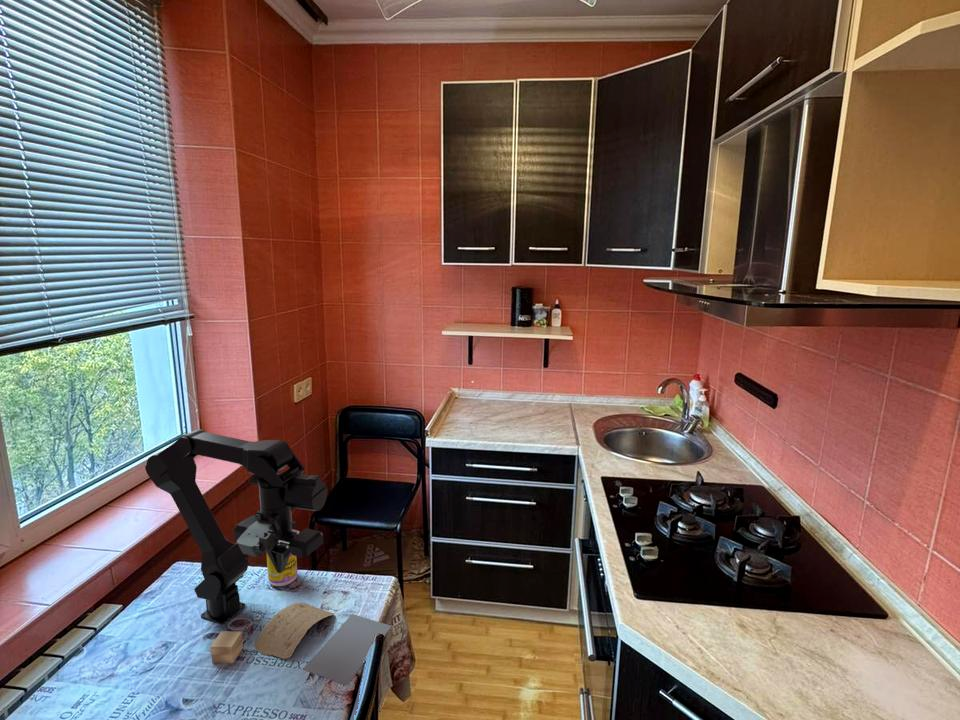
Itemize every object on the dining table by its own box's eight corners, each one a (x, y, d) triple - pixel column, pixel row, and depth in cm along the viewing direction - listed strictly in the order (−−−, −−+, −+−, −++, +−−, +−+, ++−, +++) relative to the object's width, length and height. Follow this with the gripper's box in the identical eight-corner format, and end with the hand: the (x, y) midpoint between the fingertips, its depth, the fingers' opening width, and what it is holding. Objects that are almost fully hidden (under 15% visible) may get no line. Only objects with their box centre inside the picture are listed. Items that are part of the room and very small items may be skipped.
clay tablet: (289, 662, 95) (288, 650, 94) (250, 647, 98) (249, 635, 98) (337, 614, 108) (336, 603, 107) (301, 602, 111) (300, 592, 111)
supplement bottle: (283, 590, 115) (279, 541, 113) (262, 583, 118) (258, 534, 116) (303, 574, 122) (300, 527, 119) (283, 567, 124) (280, 521, 122)
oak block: (212, 664, 94) (210, 646, 94) (223, 648, 98) (221, 631, 97) (233, 665, 94) (231, 647, 94) (243, 648, 98) (241, 631, 97)
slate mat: (302, 670, 93) (302, 669, 93) (352, 615, 108) (352, 613, 108) (347, 686, 90) (346, 685, 90) (391, 627, 104) (391, 625, 104)
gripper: (207, 513, 95) (214, 584, 98) (284, 532, 89) (289, 608, 92) (251, 489, 105) (257, 554, 109) (323, 504, 99) (326, 573, 102)
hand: (280, 571), depth 103 cm, fingers closed
